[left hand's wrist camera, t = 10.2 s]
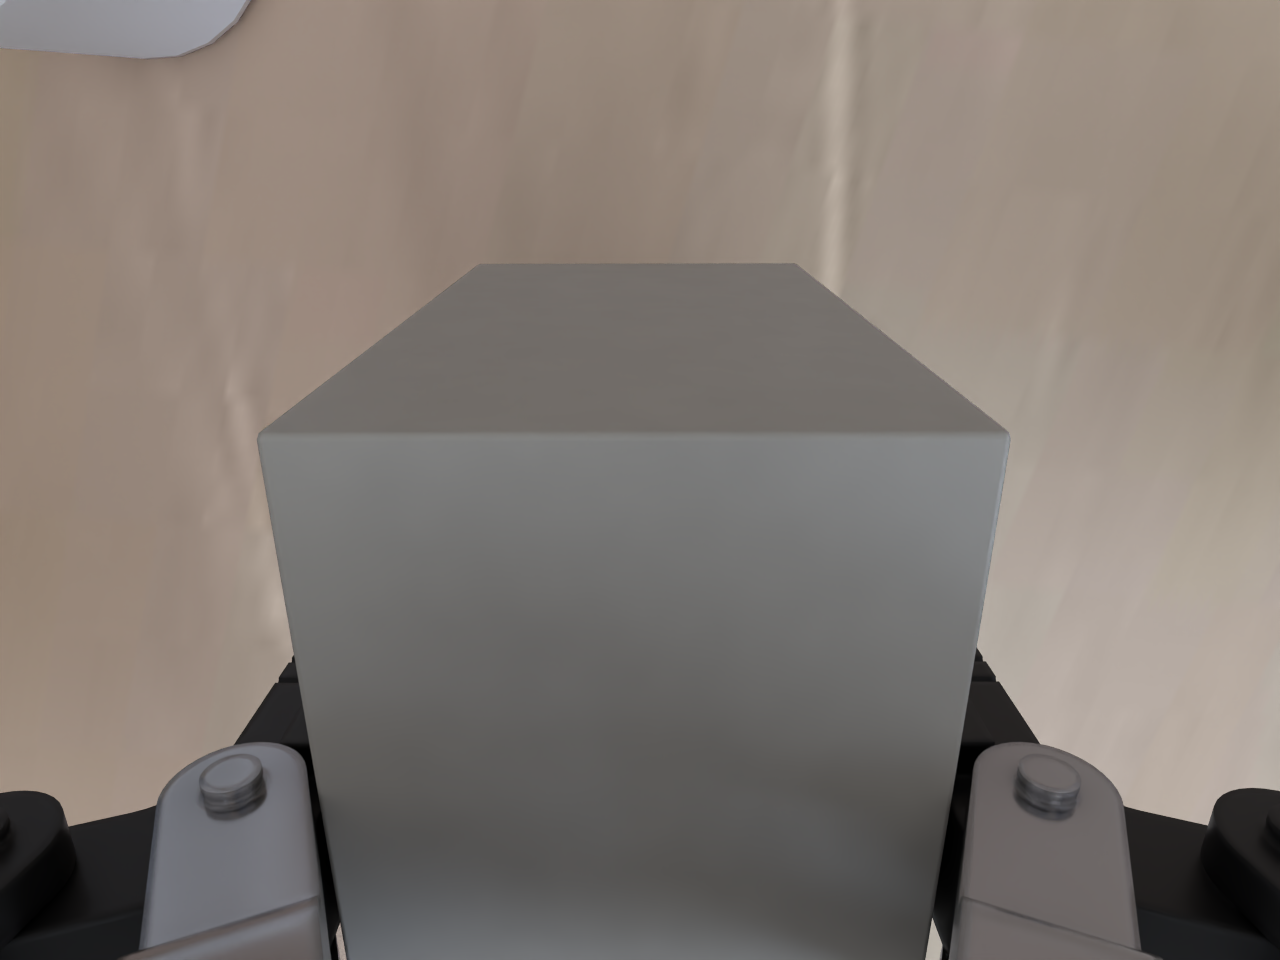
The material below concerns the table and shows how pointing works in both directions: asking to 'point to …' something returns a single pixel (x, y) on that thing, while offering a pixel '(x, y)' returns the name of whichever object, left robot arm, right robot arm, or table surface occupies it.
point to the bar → (635, 618)
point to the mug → (117, 26)
